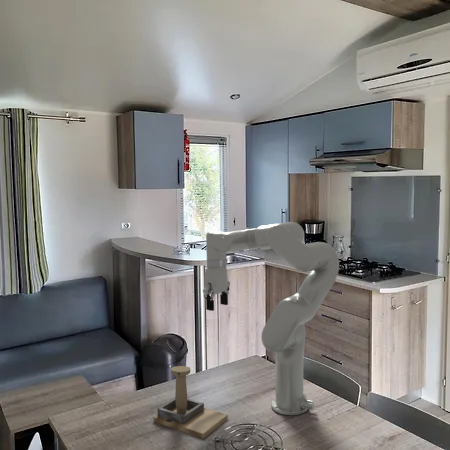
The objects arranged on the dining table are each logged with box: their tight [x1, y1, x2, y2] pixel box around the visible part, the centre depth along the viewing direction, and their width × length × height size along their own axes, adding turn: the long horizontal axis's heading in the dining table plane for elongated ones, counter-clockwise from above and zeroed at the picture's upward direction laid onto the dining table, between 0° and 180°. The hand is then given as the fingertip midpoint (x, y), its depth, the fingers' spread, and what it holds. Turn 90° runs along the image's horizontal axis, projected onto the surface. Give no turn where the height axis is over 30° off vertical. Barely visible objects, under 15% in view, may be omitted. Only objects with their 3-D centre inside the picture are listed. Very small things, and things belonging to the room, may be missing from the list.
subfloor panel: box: [152, 397, 229, 439], centre depth 154 cm, size 20×14×4 cm
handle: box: [170, 365, 191, 414], centre depth 156 cm, size 5×6×15 cm
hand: (217, 307), depth 181 cm, fingers open, 9 cm apart
